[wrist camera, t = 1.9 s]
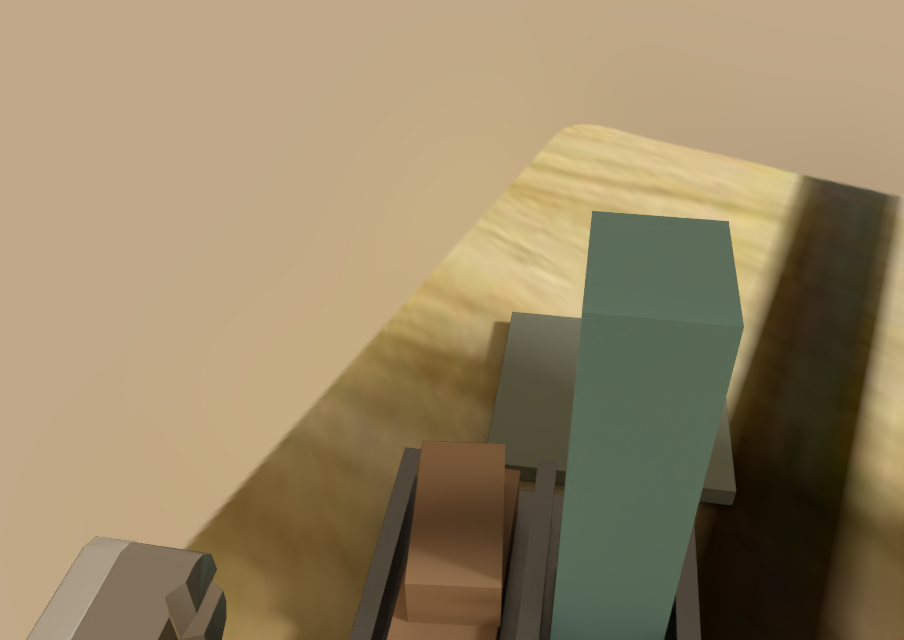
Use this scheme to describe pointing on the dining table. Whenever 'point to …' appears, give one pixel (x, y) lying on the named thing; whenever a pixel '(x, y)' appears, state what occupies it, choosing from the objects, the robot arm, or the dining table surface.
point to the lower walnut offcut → (427, 636)
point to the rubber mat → (564, 404)
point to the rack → (528, 567)
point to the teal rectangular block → (642, 418)
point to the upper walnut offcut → (457, 535)
